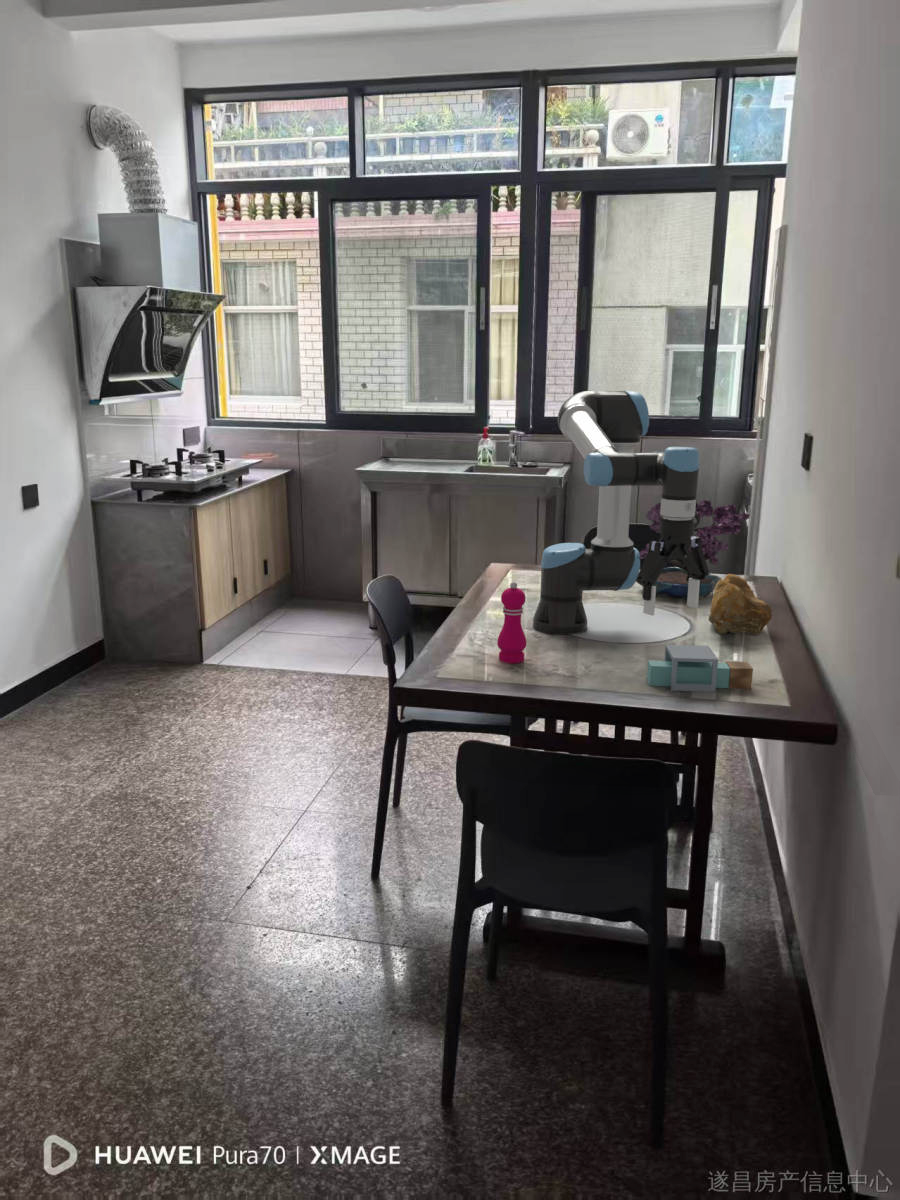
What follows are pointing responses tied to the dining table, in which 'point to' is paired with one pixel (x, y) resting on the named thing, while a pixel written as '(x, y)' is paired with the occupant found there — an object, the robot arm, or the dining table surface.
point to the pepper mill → (512, 626)
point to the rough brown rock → (738, 607)
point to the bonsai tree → (729, 520)
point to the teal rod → (687, 673)
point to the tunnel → (691, 655)
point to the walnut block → (740, 675)
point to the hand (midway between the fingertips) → (670, 610)
